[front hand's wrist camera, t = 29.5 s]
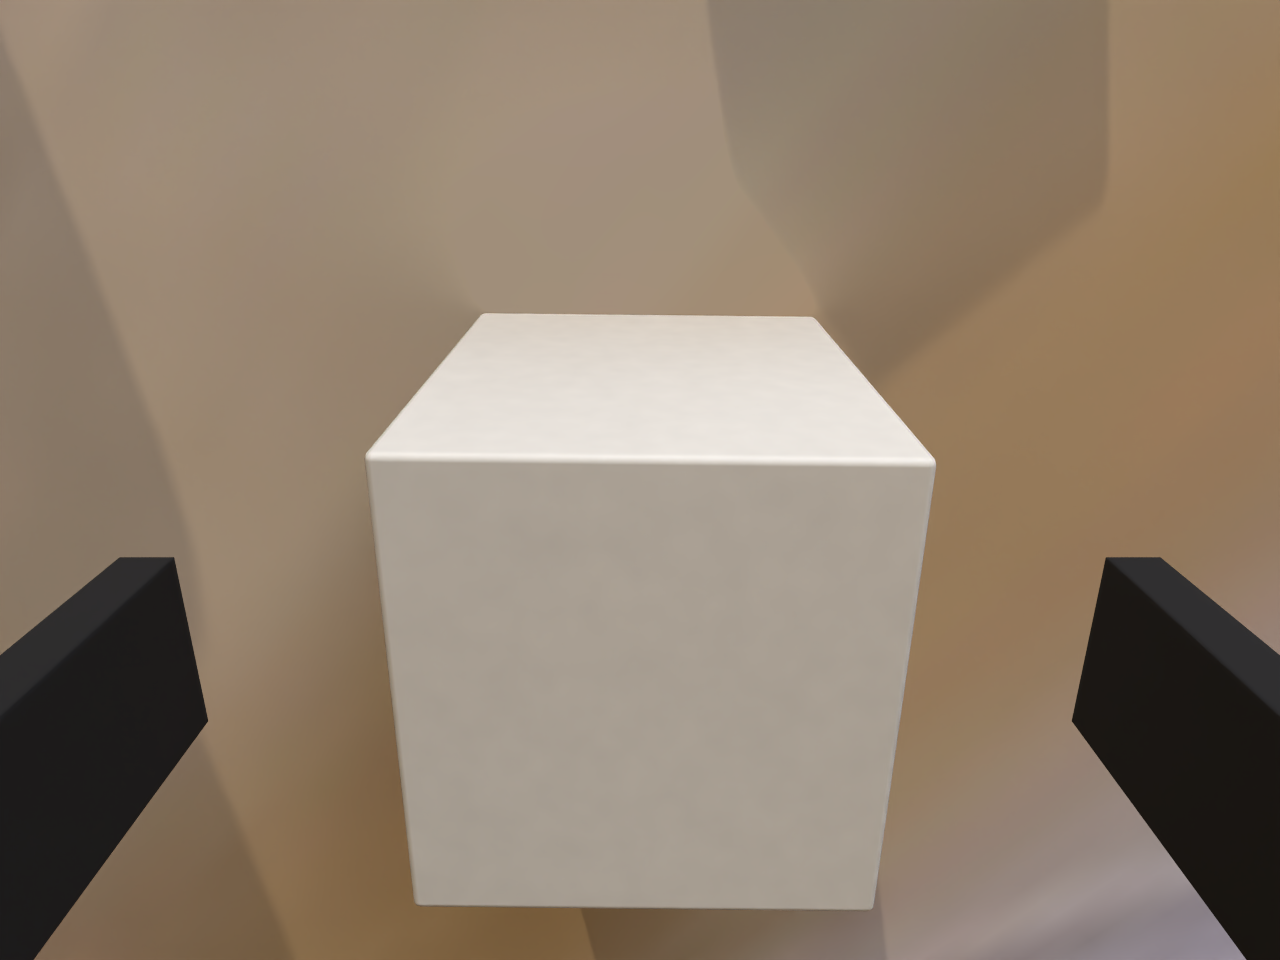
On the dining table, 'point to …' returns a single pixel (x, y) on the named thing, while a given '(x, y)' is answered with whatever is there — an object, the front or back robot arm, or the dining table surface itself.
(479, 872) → the block
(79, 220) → the dining table surface
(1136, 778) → the front robot arm
